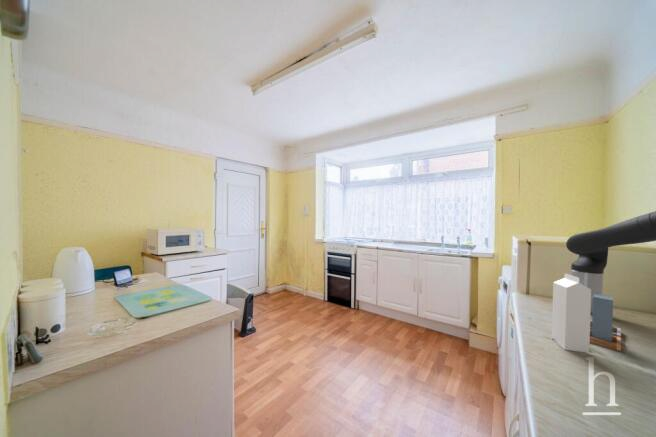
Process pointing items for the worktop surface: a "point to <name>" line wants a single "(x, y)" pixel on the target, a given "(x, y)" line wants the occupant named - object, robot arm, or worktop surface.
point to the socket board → (616, 340)
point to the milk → (571, 314)
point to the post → (602, 317)
